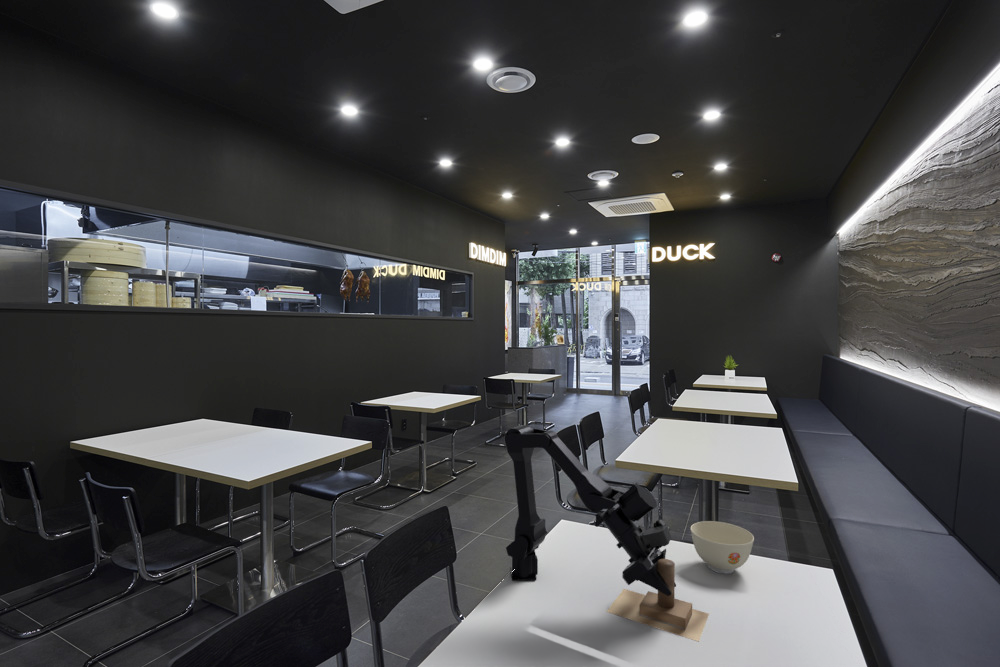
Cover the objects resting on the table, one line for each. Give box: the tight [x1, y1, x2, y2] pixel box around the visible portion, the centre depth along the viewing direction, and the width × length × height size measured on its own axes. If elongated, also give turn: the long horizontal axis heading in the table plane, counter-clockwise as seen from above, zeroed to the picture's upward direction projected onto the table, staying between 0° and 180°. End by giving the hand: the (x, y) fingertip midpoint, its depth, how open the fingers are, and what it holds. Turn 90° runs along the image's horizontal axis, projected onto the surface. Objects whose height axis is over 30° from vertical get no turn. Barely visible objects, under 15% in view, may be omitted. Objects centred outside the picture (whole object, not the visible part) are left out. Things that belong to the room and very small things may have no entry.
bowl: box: [690, 520, 755, 575], centre depth 138 cm, size 16×16×10 cm
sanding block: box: [639, 558, 693, 630], centre depth 113 cm, size 10×7×12 cm
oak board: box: [606, 588, 710, 642], centre depth 114 cm, size 20×12×1 cm, turn 58°
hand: (672, 590), depth 113 cm, fingers closed on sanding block, 4 cm apart
